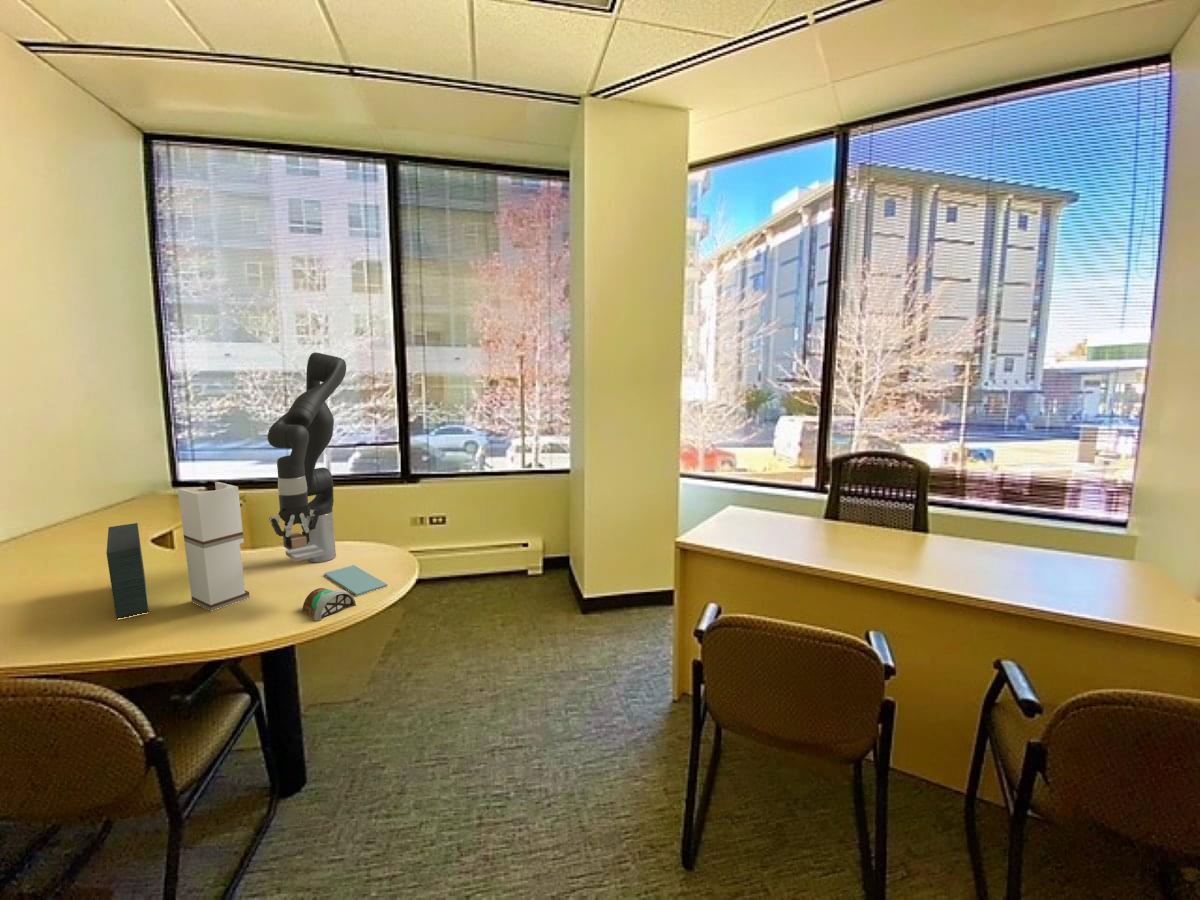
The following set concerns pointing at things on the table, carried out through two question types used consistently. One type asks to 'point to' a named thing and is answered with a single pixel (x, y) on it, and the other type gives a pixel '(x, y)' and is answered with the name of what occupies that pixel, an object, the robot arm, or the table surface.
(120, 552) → the dark grey upright block
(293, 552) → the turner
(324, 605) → the food container
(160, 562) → the table surface
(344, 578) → the mat
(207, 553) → the white banded pillar
